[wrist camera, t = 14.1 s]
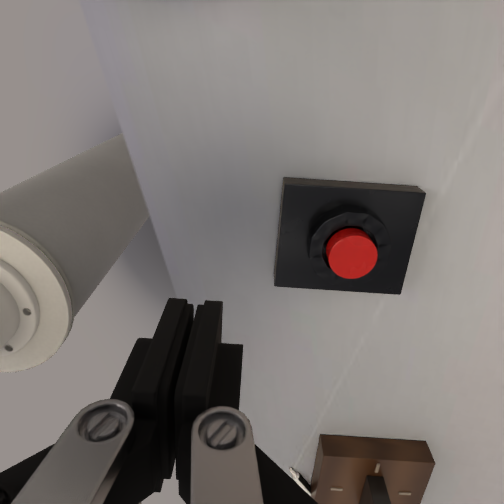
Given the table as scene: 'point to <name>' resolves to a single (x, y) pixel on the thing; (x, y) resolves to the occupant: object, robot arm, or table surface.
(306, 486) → the pen
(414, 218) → the black button base
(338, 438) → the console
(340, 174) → the table surface
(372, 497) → the dial knob
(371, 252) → the button
